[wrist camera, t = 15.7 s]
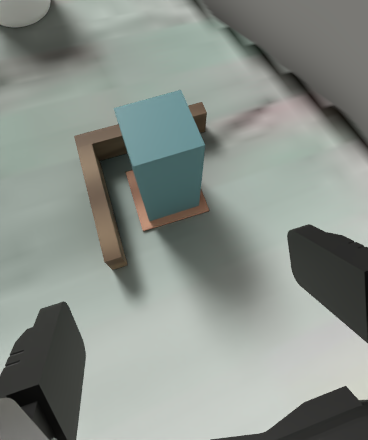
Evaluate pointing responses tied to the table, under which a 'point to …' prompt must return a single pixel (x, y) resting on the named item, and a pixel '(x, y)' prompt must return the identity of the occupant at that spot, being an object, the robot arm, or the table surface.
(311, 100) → the table surface
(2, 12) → the cup
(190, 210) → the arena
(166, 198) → the teal block
